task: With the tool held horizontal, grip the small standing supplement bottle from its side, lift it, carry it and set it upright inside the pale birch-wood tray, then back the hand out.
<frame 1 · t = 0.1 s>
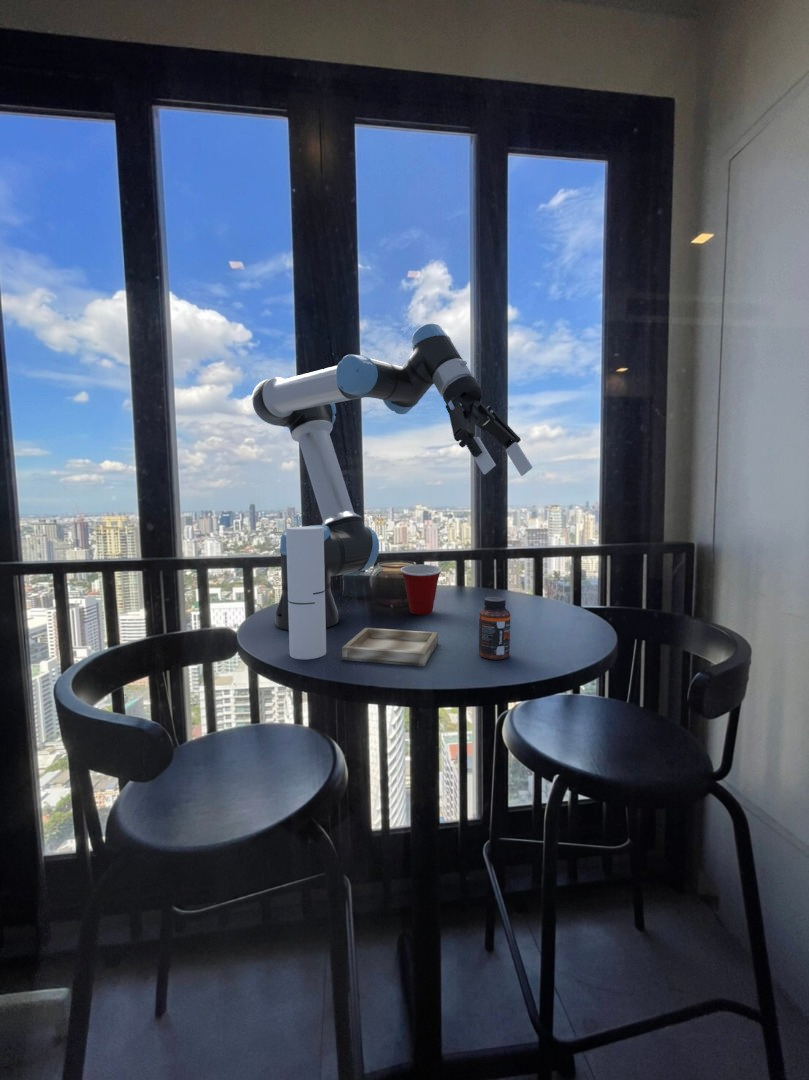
hand: (509, 470, 95), 36 cm above the table, tool tilted 35°, fingers open, 13 cm apart
cylindrical container: (308, 654, 99), on the table
tray: (392, 651, 99), on the table
plastic cup: (421, 613, 131), on the table
supplement bottle: (494, 656, 97), on the table
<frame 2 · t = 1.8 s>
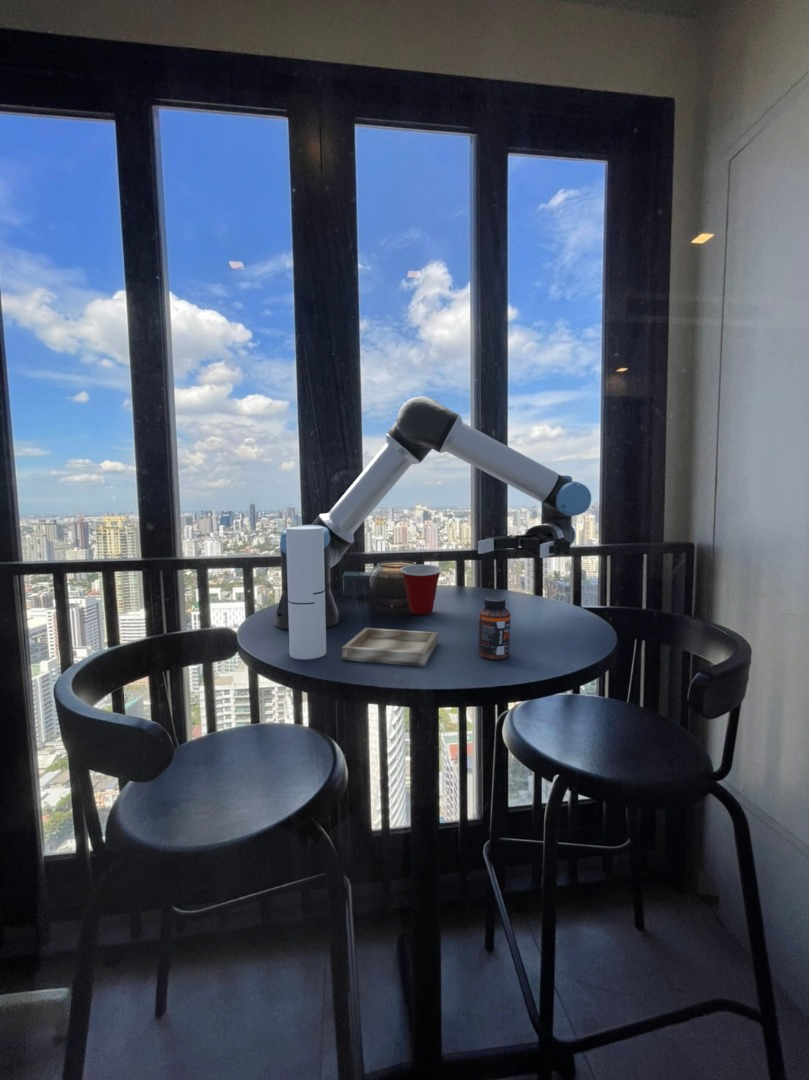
hand: (509, 549, 103), 20 cm above the table, tool horizontal, fingers open, 13 cm apart
nothing on the table moved.
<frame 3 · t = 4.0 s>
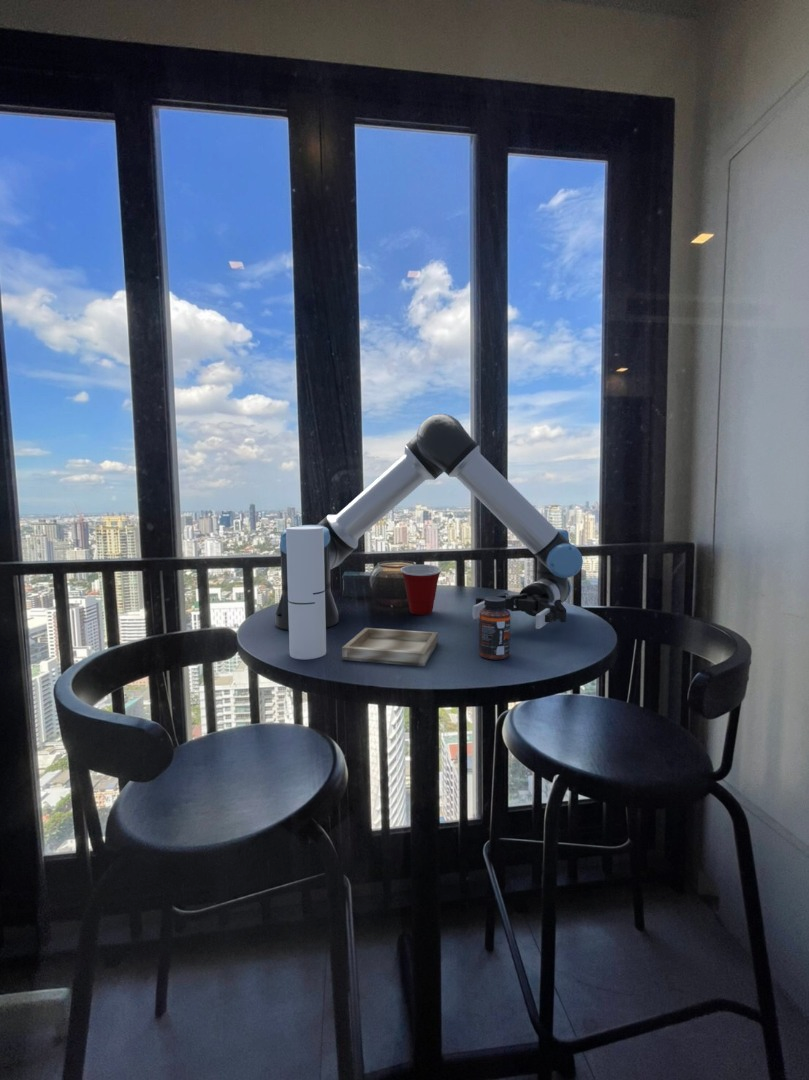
hand: (504, 617, 100), 6 cm above the table, tool horizontal, fingers open, 13 cm apart
nothing on the table moved.
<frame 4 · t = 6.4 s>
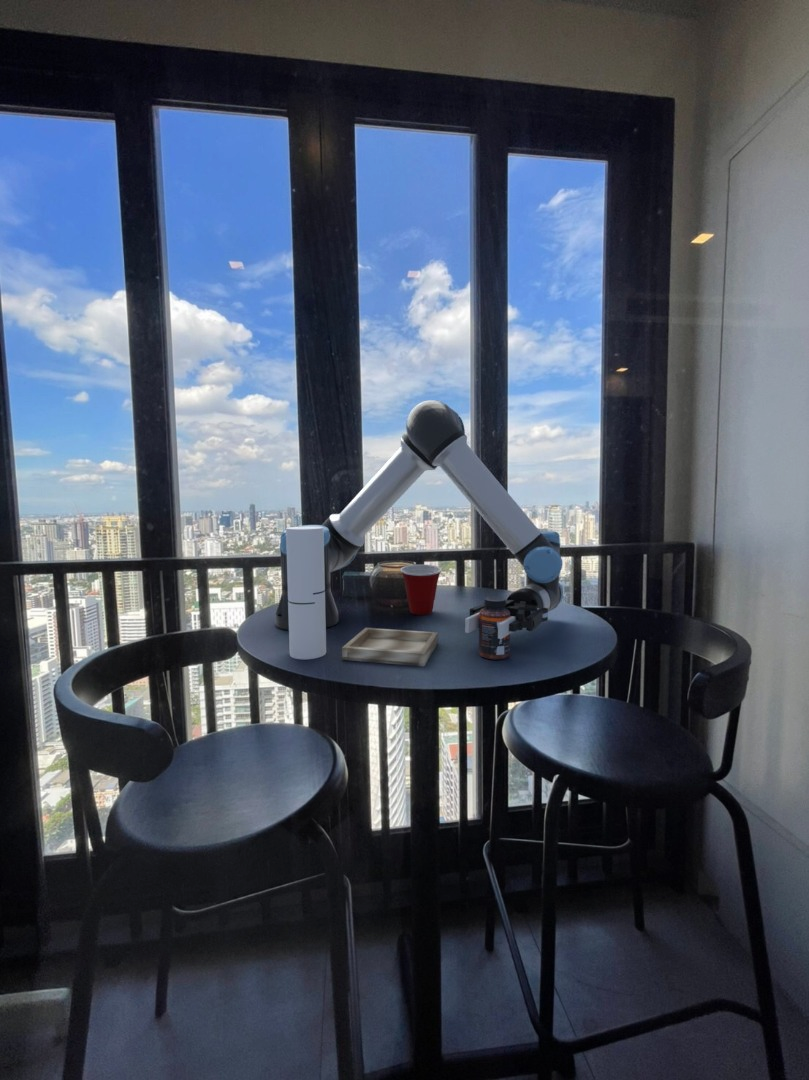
hand: (483, 628, 92), 7 cm above the table, tool horizontal, fingers closed on supplement bottle, 6 cm apart
supplement bottle: (494, 656, 97), on the table, touching gripper
everything else where it was.
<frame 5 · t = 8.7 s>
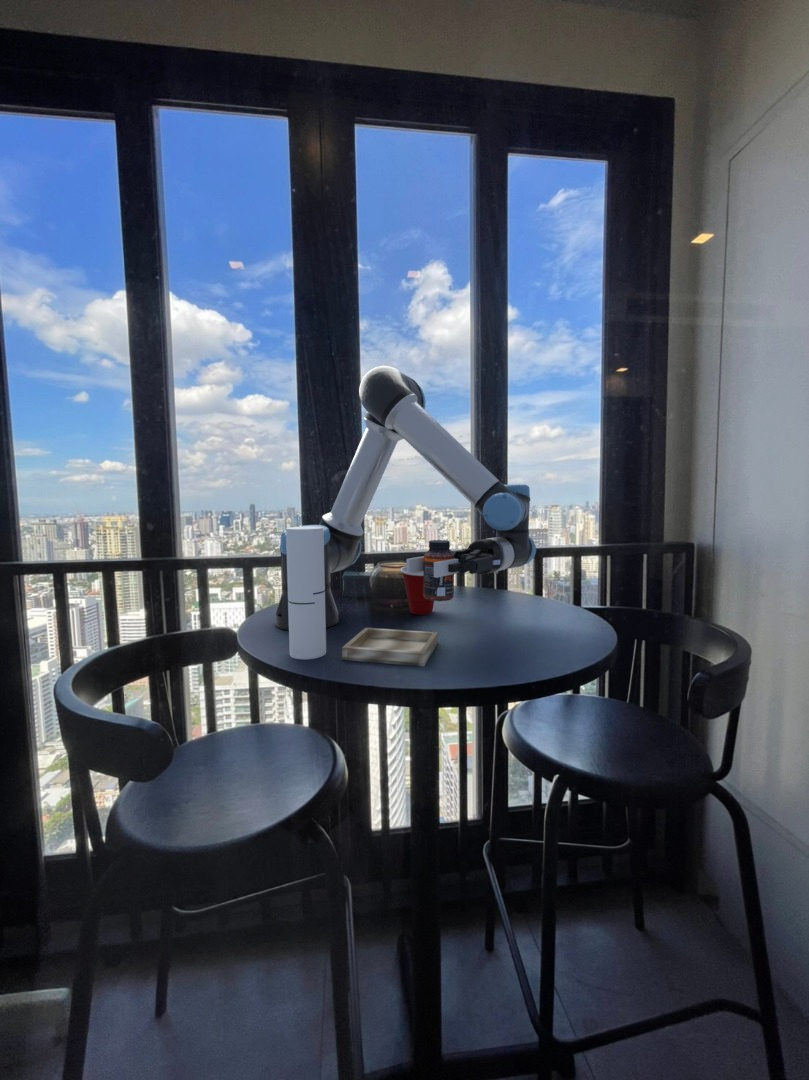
hand: (421, 568, 92), 18 cm above the table, tool horizontal, fingers closed on supplement bottle, 6 cm apart
supplement bottle: (438, 599, 97), point 11 cm above the table, touching gripper
everything else where it was.
when the fingers open (9 cm above the table, at t = 11.4 s): supplement bottle drops 1 cm, resting on tray.
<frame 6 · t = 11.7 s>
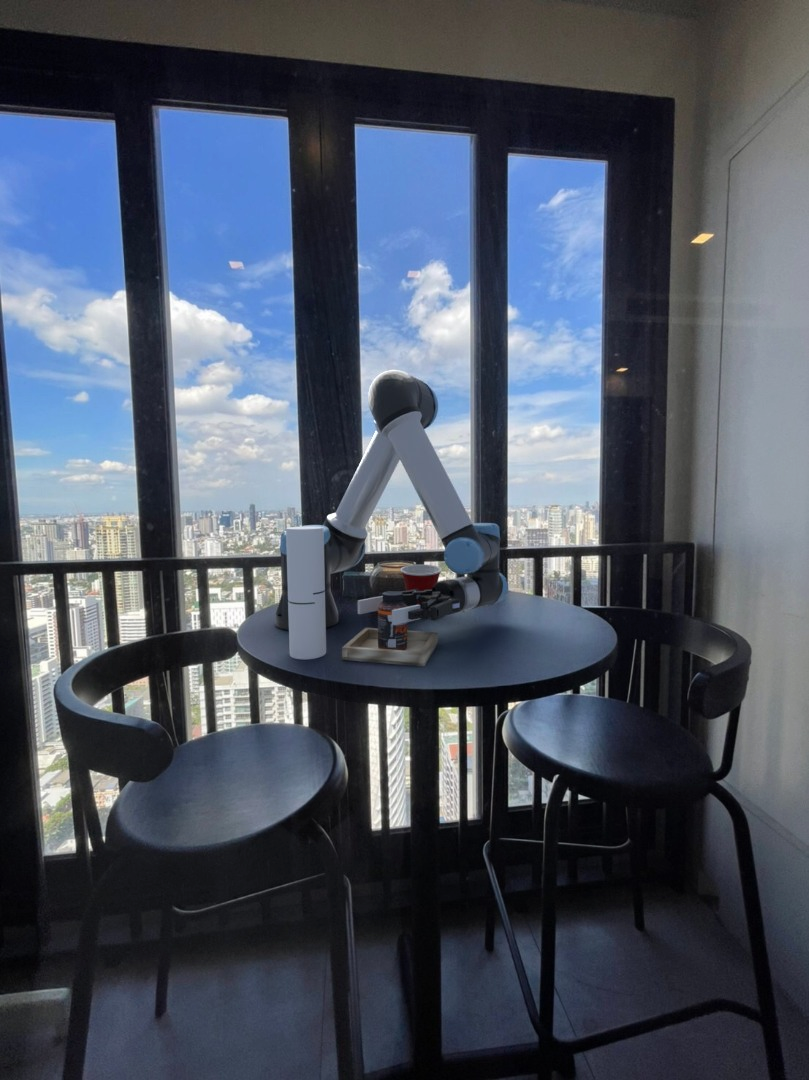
hand: (375, 612, 96), 9 cm above the table, tool horizontal, fingers open, 10 cm apart
supplement bottle: (392, 649, 99), resting on tray
everything else where it was.
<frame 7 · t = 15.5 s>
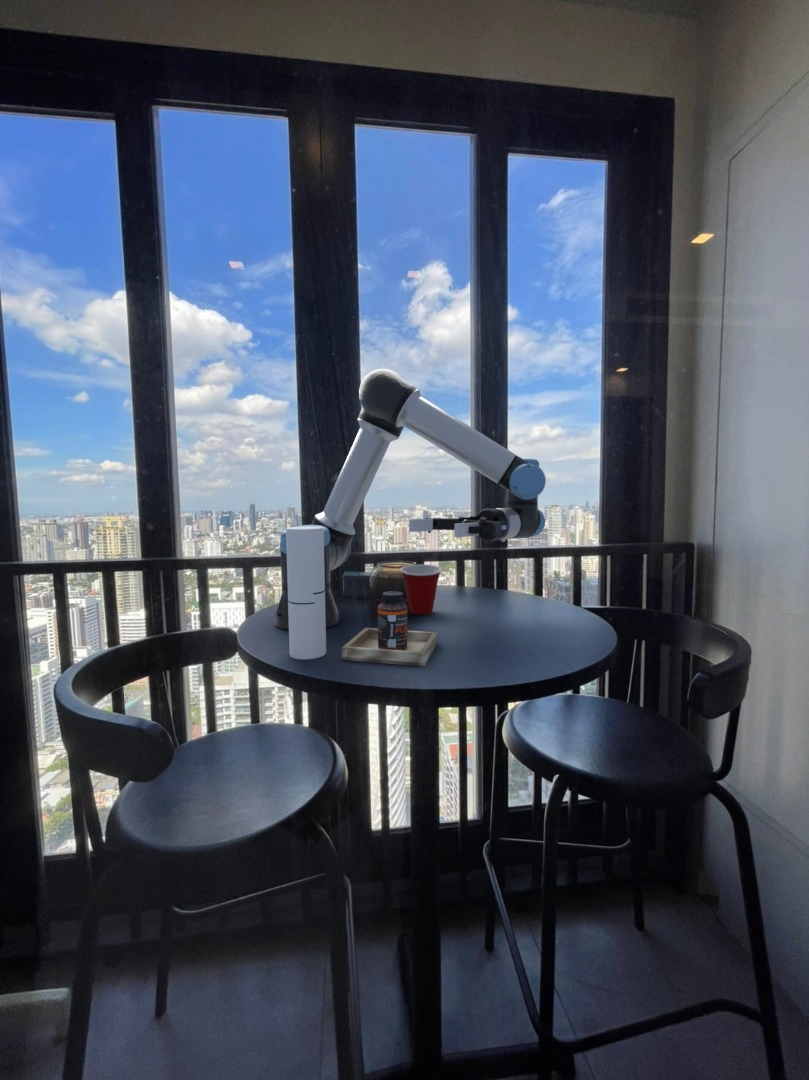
hand: (431, 527, 103), 24 cm above the table, tool horizontal, fingers open, 13 cm apart
nothing on the table moved.
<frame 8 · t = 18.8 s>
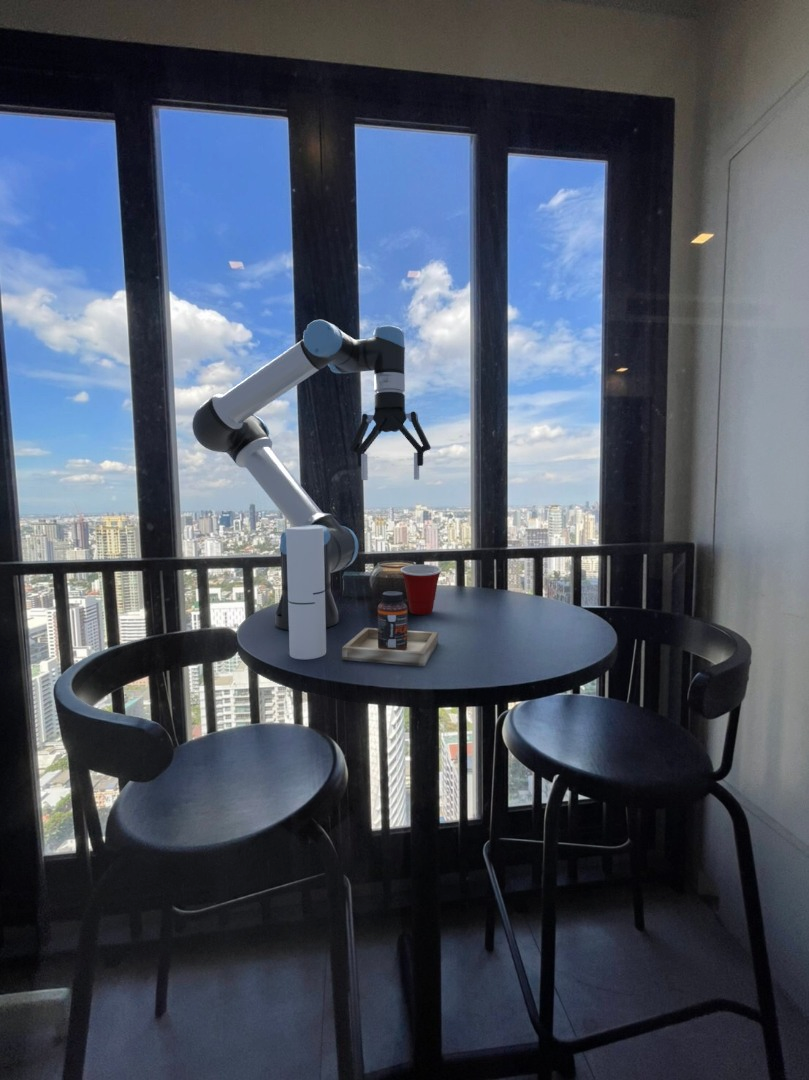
hand: (390, 479, 125), 35 cm above the table, tool pointing down, fingers open, 13 cm apart
nothing on the table moved.
at the end: supplement bottle inside the target area on the tray (0.1 cm from its centre), point 0.4 cm above the tray's base; supplement bottle tilted 0°; the gripper is holding nothing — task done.
